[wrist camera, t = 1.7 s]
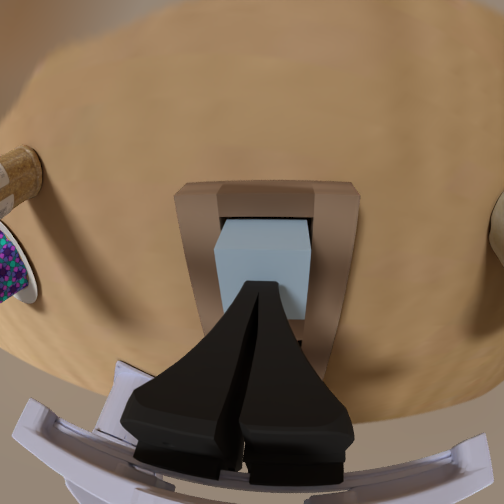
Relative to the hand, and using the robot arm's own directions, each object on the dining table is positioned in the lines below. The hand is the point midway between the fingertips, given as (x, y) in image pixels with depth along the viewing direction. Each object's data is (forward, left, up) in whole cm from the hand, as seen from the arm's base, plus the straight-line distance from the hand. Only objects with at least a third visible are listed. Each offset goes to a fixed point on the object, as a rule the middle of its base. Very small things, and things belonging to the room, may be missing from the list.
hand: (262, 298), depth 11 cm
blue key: (0, 0, -4) cm, 4 cm away
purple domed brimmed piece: (-17, +24, -6) cm, 30 cm away
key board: (-8, -4, -5) cm, 10 cm away
